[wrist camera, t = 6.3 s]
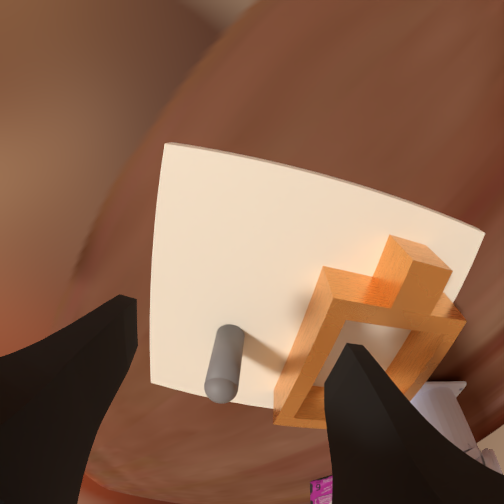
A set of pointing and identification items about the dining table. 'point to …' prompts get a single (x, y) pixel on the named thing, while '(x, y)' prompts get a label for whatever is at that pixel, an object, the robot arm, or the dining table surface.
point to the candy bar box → (321, 491)
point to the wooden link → (372, 312)
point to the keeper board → (268, 266)
